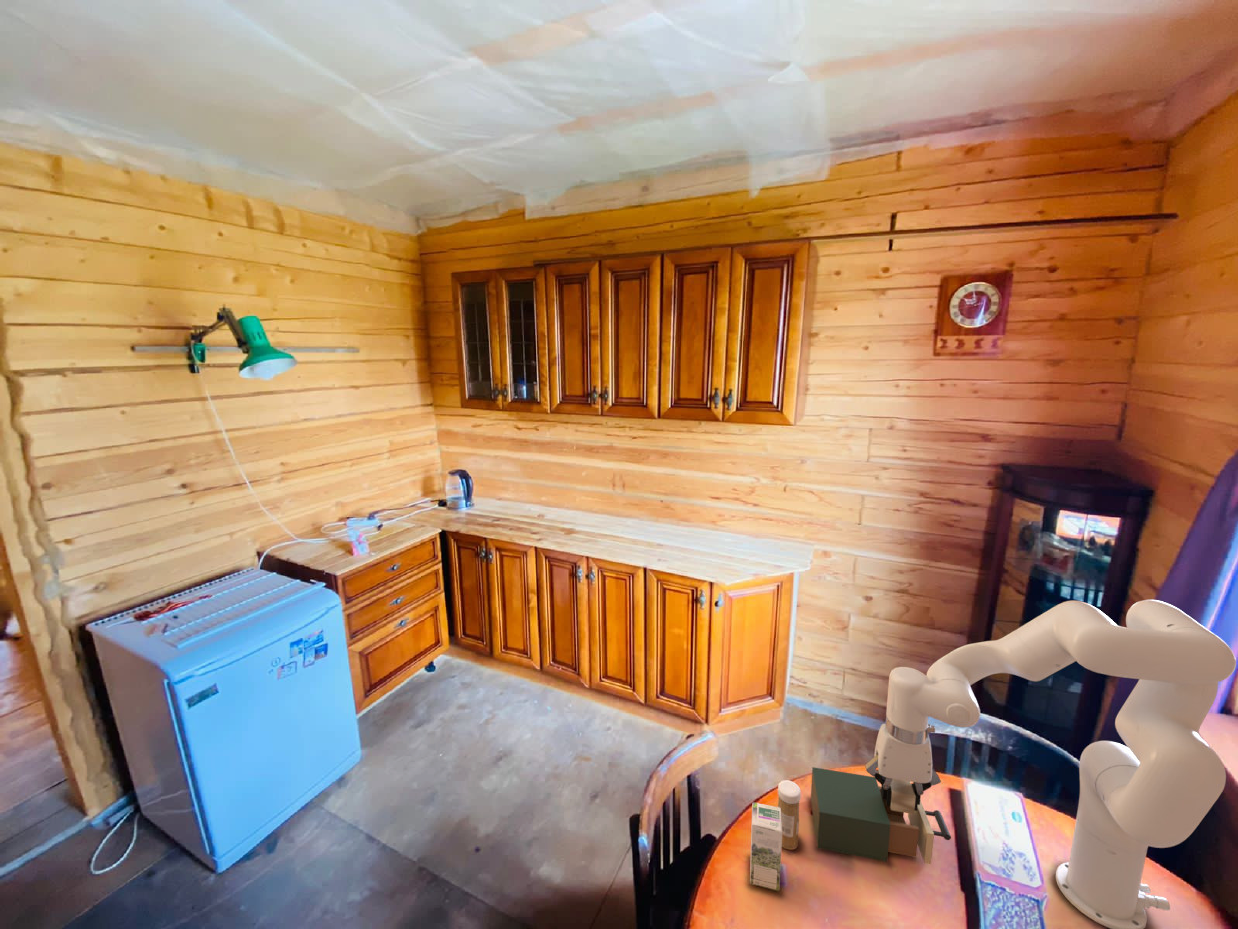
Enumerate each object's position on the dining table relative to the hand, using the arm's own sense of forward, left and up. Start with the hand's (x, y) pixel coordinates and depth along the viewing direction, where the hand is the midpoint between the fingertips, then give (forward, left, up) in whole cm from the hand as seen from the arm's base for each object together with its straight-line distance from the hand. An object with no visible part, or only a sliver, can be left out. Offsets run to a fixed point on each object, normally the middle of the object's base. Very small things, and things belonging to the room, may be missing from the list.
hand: (899, 802), depth 107 cm
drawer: (-1, 0, -8) cm, 8 cm away
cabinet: (+10, 0, -9) cm, 14 cm away
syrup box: (+28, +15, -9) cm, 33 cm away
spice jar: (+23, +6, -9) cm, 26 cm away
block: (0, 0, 0) cm, 0 cm away
